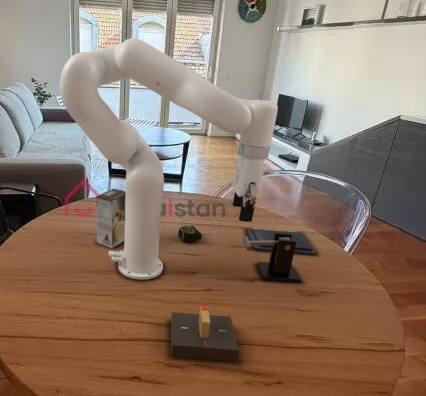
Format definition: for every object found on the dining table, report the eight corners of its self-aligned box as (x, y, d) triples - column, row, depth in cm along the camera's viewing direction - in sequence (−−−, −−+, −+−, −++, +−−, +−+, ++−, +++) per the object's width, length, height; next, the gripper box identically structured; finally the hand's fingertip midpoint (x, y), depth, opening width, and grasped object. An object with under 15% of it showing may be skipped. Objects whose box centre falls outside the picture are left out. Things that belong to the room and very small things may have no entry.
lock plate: (171, 356, 73) (172, 344, 72) (170, 322, 83) (171, 311, 82) (236, 361, 73) (238, 349, 72) (228, 327, 82) (230, 315, 81)
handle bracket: (263, 280, 100) (270, 242, 96) (256, 265, 108) (263, 229, 104) (300, 283, 100) (309, 245, 96) (291, 267, 107) (299, 231, 103)
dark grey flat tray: (253, 244, 115) (246, 224, 130) (252, 250, 116) (245, 229, 130) (318, 251, 114) (304, 229, 128) (317, 256, 114) (303, 234, 128)
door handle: (246, 252, 99) (246, 244, 98) (242, 241, 104) (242, 234, 103) (292, 251, 98) (293, 243, 97) (285, 241, 103) (286, 233, 103)
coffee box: (113, 232, 123) (114, 187, 117) (129, 237, 120) (130, 192, 114) (96, 243, 116) (95, 195, 110) (112, 249, 113) (113, 200, 107)
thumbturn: (208, 338, 74) (210, 321, 73) (200, 337, 74) (202, 320, 73) (205, 321, 79) (208, 305, 78) (198, 321, 79) (200, 305, 78)
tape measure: (202, 243, 119) (203, 232, 118) (182, 245, 117) (183, 234, 116) (193, 233, 125) (194, 223, 124) (174, 235, 123) (175, 225, 122)
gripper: (232, 142, 100) (223, 200, 106) (245, 158, 84) (232, 226, 90) (260, 144, 100) (249, 202, 106) (277, 161, 84) (263, 229, 90)
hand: (241, 213), depth 98 cm, fingers open, 9 cm apart
